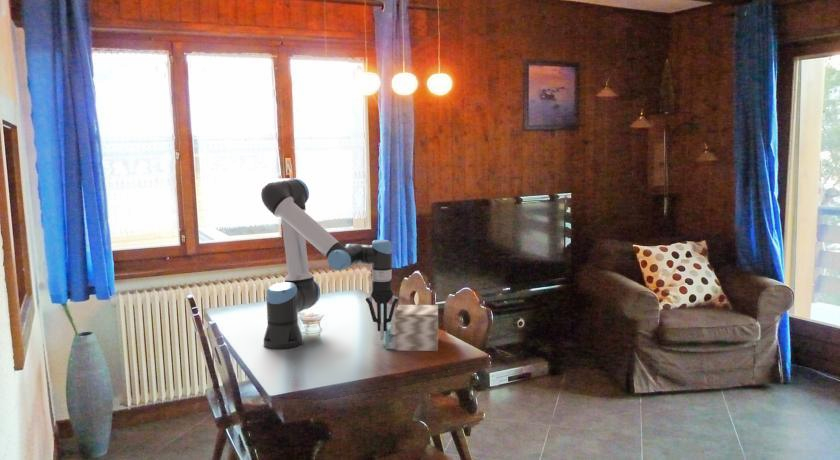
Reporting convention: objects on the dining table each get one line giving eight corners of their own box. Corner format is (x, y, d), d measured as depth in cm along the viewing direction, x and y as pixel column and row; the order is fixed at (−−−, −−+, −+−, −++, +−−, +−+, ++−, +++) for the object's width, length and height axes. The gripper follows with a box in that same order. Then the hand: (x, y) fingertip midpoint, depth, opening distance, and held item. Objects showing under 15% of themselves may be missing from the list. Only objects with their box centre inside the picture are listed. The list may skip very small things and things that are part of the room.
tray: (385, 348, 248) (385, 333, 247) (388, 339, 261) (388, 324, 260) (434, 349, 247) (434, 333, 246) (435, 339, 260) (435, 324, 259)
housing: (395, 350, 247) (395, 314, 245) (398, 338, 262) (398, 304, 260) (437, 350, 246) (437, 314, 244) (438, 339, 261) (438, 305, 259)
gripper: (364, 281, 248) (364, 341, 251) (397, 282, 247) (397, 342, 250) (366, 277, 255) (367, 336, 258) (399, 278, 255) (399, 336, 258)
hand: (382, 339), depth 254 cm, fingers closed
